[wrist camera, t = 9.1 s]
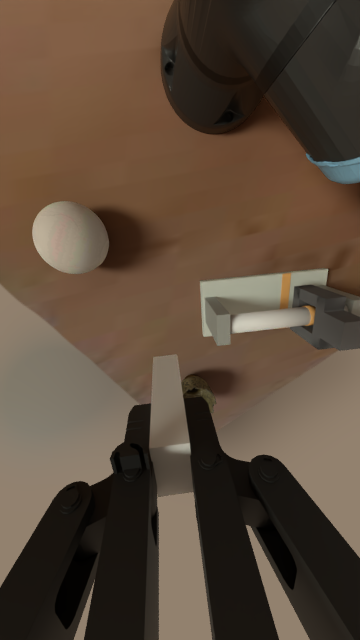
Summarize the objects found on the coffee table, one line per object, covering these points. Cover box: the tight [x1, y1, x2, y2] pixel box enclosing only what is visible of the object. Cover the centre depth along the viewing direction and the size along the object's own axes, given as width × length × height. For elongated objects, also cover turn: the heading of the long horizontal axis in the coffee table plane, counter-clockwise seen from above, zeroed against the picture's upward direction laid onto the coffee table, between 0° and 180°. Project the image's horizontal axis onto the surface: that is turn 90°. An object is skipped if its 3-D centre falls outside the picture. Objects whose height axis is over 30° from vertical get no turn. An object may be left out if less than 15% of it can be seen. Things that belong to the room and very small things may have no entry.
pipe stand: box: [200, 268, 360, 346], centre depth 40 cm, size 24×11×11 cm, turn 95°
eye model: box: [33, 201, 109, 274], centre depth 34 cm, size 10×10×10 cm
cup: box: [181, 375, 216, 413], centre depth 47 cm, size 8×7×8 cm
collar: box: [290, 285, 360, 351], centre depth 35 cm, size 3×8×12 cm, turn 5°
